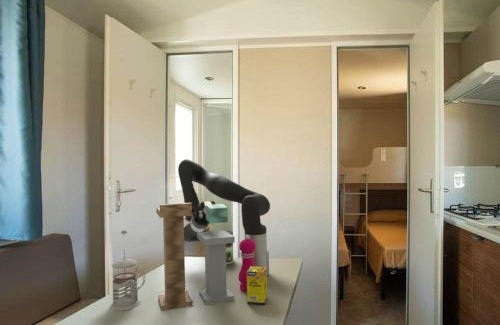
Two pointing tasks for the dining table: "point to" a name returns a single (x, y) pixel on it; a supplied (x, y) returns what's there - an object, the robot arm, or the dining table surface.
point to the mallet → (215, 212)
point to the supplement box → (257, 285)
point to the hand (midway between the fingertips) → (208, 203)
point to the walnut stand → (174, 255)
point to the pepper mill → (246, 260)
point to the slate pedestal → (215, 266)
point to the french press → (125, 285)
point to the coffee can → (229, 251)
